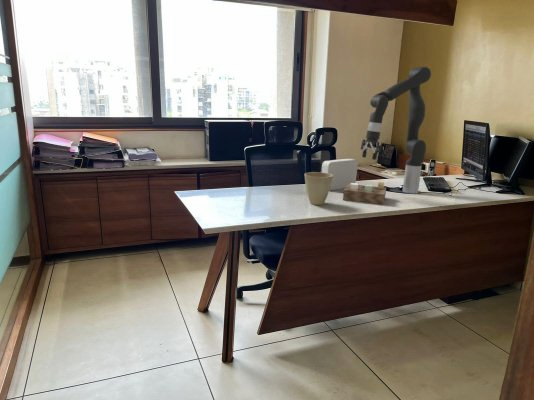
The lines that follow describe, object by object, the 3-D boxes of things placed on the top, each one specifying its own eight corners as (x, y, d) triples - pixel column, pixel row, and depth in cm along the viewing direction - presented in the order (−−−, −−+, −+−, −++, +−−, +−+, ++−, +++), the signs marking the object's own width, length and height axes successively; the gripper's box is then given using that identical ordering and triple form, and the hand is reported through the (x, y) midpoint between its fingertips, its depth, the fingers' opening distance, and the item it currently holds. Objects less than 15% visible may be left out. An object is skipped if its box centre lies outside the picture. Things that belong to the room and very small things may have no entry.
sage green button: (372, 193, 213) (372, 185, 212) (371, 195, 210) (372, 186, 209) (364, 192, 215) (365, 184, 213) (364, 194, 211) (364, 185, 210)
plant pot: (324, 199, 213) (326, 171, 209) (334, 206, 199) (337, 177, 195) (299, 200, 209) (301, 171, 205) (307, 207, 195) (309, 177, 191)
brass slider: (383, 188, 218) (384, 182, 218) (383, 189, 216) (383, 183, 215) (377, 187, 219) (378, 181, 219) (377, 188, 217) (378, 182, 216)
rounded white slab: (346, 184, 257) (348, 157, 253) (355, 186, 252) (357, 159, 247) (317, 188, 240) (319, 160, 235) (326, 191, 234) (328, 162, 229)
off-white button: (357, 192, 216) (358, 183, 215) (356, 193, 212) (357, 184, 211) (350, 191, 217) (351, 182, 216) (349, 192, 214) (350, 184, 212)
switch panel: (385, 197, 222) (386, 187, 221) (383, 205, 206) (384, 193, 204) (347, 193, 229) (348, 183, 228) (342, 200, 213) (343, 189, 211)
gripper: (387, 132, 214) (382, 160, 218) (370, 130, 226) (365, 157, 230) (377, 131, 211) (372, 159, 214) (360, 129, 223) (356, 156, 226)
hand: (368, 158), depth 222 cm, fingers open, 8 cm apart
